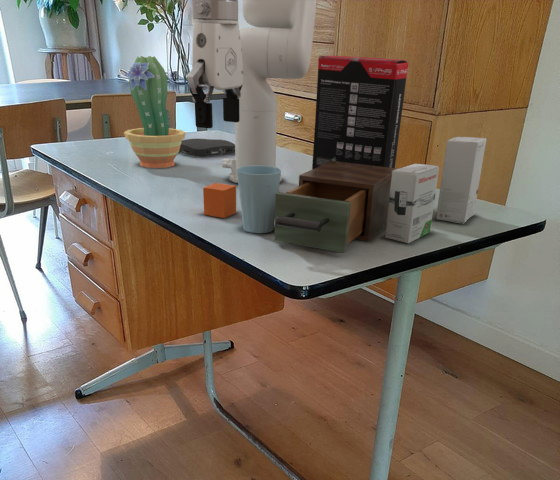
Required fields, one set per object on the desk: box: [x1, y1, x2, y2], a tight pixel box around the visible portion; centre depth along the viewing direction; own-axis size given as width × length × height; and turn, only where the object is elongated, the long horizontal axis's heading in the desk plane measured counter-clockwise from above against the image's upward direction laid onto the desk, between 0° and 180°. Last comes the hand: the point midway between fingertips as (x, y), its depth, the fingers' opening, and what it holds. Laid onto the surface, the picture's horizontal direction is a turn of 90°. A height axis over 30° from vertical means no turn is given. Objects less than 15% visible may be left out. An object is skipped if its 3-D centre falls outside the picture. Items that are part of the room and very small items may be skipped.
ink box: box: [384, 163, 440, 244], centre depth 103 cm, size 9×5×12 cm, turn 141°
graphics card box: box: [311, 55, 409, 170], centre depth 121 cm, size 17×7×27 cm, turn 59°
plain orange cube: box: [202, 182, 237, 219], centre depth 114 cm, size 5×5×5 cm
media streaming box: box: [178, 138, 235, 158], centre depth 170 cm, size 15×15×3 cm
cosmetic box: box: [435, 136, 488, 225], centre depth 114 cm, size 8×6×15 cm
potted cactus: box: [123, 55, 186, 169], centre depth 148 cm, size 15×15×25 cm
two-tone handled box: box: [274, 181, 369, 254], centre depth 98 cm, size 20×12×8 cm, turn 154°
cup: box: [237, 165, 282, 234], centre depth 104 cm, size 8×8×10 cm
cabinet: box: [298, 161, 398, 242], centre depth 109 cm, size 16×14×10 cm
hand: (218, 124), depth 107 cm, fingers open, 9 cm apart
